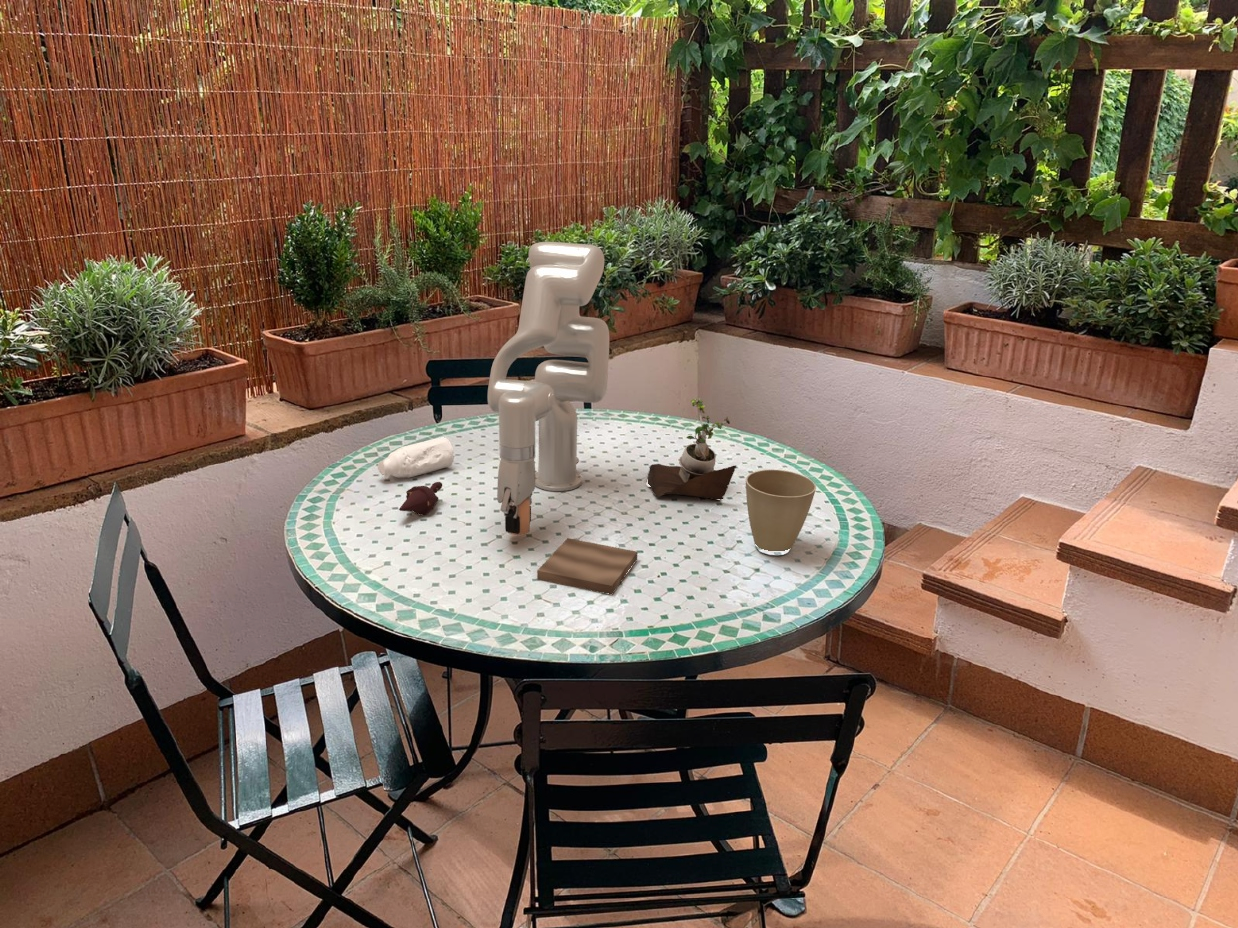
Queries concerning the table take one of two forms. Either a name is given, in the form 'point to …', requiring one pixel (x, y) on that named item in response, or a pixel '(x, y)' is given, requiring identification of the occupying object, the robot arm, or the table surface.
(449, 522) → the table surface
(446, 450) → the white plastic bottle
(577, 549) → the walnut board
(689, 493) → the potted plant
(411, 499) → the dark brown tapered piece
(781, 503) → the plant pot
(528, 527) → the terracotta cylinder
